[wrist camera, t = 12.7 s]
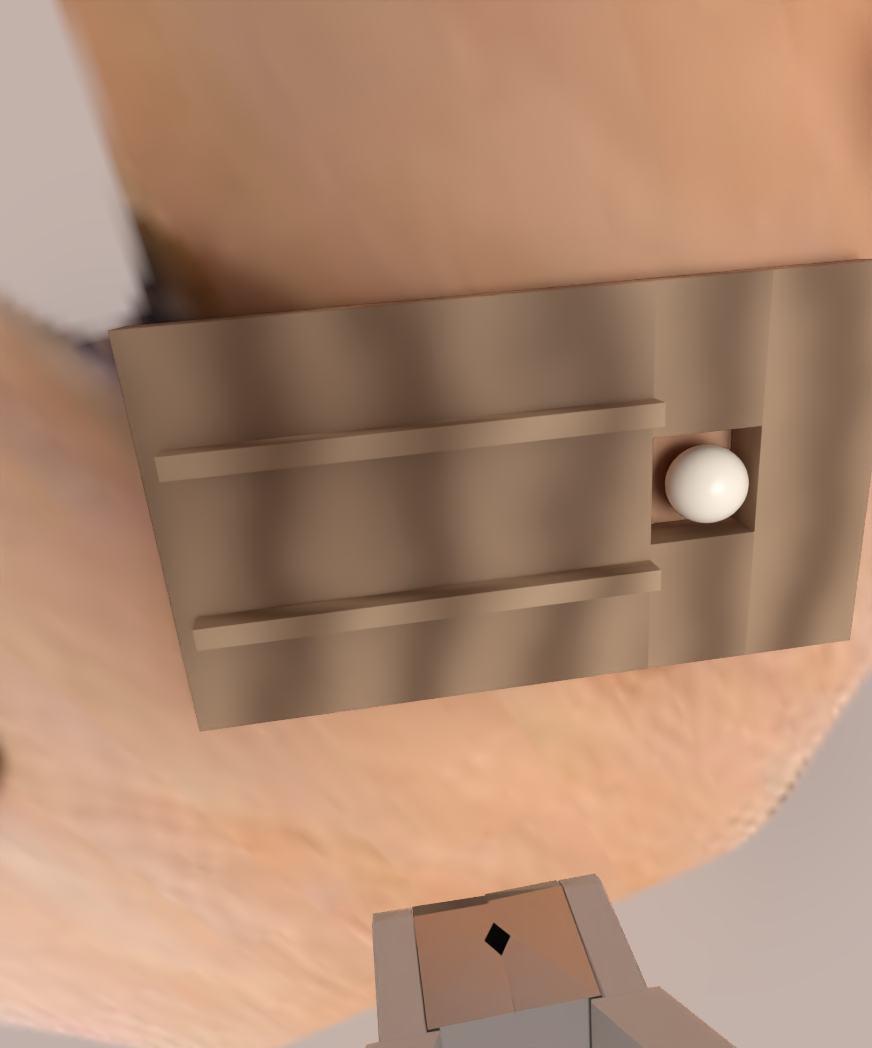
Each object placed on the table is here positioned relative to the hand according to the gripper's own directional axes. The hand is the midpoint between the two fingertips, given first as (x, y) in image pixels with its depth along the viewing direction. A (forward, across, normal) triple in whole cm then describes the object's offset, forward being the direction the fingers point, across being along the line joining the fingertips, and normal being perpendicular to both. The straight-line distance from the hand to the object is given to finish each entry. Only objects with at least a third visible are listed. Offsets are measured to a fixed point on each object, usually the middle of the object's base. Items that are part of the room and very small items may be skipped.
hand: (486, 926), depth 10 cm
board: (+25, -6, +3) cm, 26 cm away
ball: (+23, -15, +3) cm, 27 cm away
